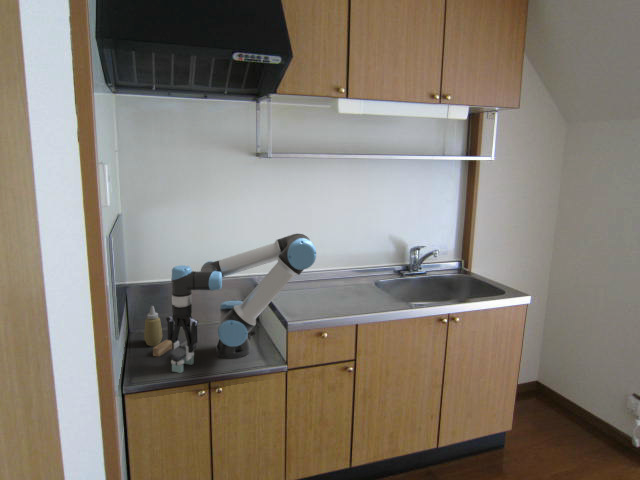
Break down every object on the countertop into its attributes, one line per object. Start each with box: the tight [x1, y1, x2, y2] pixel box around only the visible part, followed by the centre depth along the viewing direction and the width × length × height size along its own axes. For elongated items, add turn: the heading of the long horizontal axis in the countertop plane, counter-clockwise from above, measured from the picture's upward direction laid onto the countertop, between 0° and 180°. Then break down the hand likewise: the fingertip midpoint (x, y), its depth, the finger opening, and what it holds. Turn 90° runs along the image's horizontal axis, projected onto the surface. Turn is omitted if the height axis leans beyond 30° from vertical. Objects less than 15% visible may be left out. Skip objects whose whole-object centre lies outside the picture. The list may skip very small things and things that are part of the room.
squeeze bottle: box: [143, 305, 163, 347], centre depth 202 cm, size 8×8×18 cm
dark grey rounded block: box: [169, 340, 197, 362], centre depth 183 cm, size 11×5×5 cm, turn 163°
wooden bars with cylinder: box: [152, 339, 172, 357], centre depth 195 cm, size 12×10×4 cm
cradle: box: [170, 351, 195, 374], centre depth 183 cm, size 10×5×5 cm, turn 163°
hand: (182, 357), depth 183 cm, fingers open, 5 cm apart
